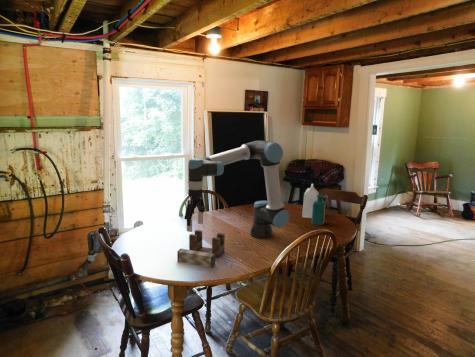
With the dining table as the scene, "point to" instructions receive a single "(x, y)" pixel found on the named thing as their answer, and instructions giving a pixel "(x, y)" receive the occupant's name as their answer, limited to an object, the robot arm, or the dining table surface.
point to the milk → (309, 201)
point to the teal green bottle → (319, 210)
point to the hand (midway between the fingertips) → (195, 227)
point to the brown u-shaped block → (196, 245)
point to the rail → (196, 258)
